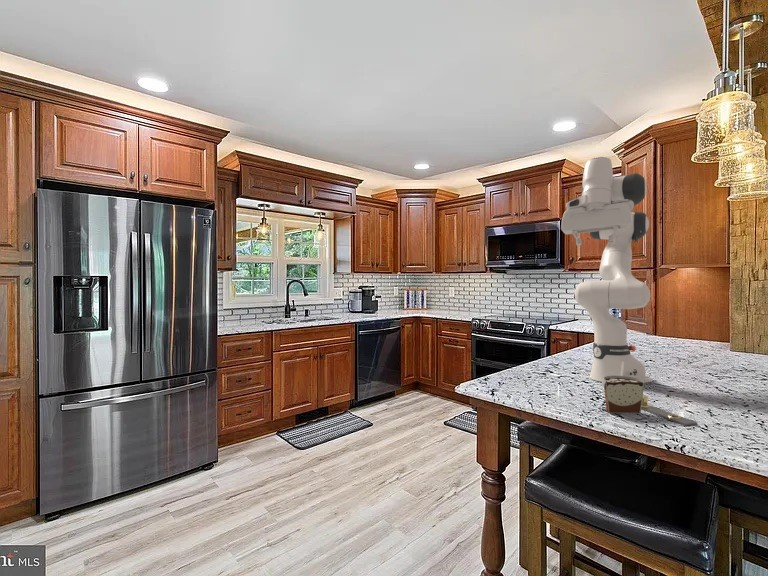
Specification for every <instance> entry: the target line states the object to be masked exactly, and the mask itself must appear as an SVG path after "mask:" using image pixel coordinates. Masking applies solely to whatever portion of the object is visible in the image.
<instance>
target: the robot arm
mask: <svg viewBox="0 0 768 576" xmlns="http://www.w3.org/2000/svg"><path fill="white" fill-rule="evenodd" d="M581 183H582V185H581V192H580V193H581V195H580V196H579V197H577V198H574V199H572V200H570V201H567V203H565V209H566V210H565V211H564V213H563V215H562V219H561V225H560V230H561V231H562V232H563V234H565V235H573V237H574V239H575V245H576V246H582V245H583V240H582V238H581V237H579V234H584V233H589V236H590V237H591V238H592V240H598V241H600V240H608V242H607V243H606V246H605V247H604V250H603V252H602V254H601V258H600V259H601V260H600V265H599V270H598V271H599V275H600V277H601V278H602V279H603V280H587V281H586V280H585V281H582V282H580V283H578V284H577V286H576V288H575V290H574V299H575V301H576V303H577V304H578V305H579V306H580V307H582V308H583V309H584V310H585V311H586V312H587V313H588V314H589V316H590V318H591V320H592V324H593V330H594V331H593V334H594V335H593V336H594V337H593V338H594V341H593V343H592V352H593V358H592V366H591V370H590V375H589V377H588V378H589V379H590V380H593V381H597V382H601V383H602V380H603V378H604V377H605V376H628V377H634V378H639V379H642V380H644V382H645V384H646V383H652V382H653V381H654V378H652V377H650V376H647V375H646V368H645V365H644V364H643V363H642V362H641V361H640V360H638V359H637V358H636V357H635V356H633V355H632V354H631V352H636V350H637V347H636V345H632V344H631V345H628V344H627V342H628V339H627V338H628V337H627V335H628V329H627V328H628V327H627V325H626V323H625V322H624V321H623V320H621V319H619V318H618V317H616V316H613V315H612V314H611V312H610V309H617V310H618V309H619V310H634V309H635V310H636V309H641V308H645V307H646V306H647V304H648V303H649V302H650V299H651V290H650V288H649V286H648V285H647V284H646V283H645V282H643V281H641V280H639V279H637V278H636V277H634V275H633V274H632V261H633V251H632V242H635V243H638V241H639V240H640V239H642V238H644V236H645V235H646V234H647V231H648V230H649V226H650V220H649V218H648V216H647V214H646V213H645V212H642V211H634V208H635V206H636V205H638V204H640V203H641V202H643V201H644V200H645V198H646V195H647V192H648V184H647V181H646V179H645V177H644V176H643V175H642V174H639V173H637V172H634V173H629V174H626V175H622V176H615V177H614V171H613V163H612V159H611V158H609V157H607V156H599V157H594V158H591V159H589V160H587V161H586V162H585V165H584V169H583V174H582V182H581ZM633 211H634V212H633ZM578 237H579V238H578Z"/></svg>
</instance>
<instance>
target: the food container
mask: <svg viewBox="0 0 768 576" xmlns="http://www.w3.org/2000/svg"><path fill="white" fill-rule="evenodd" d="M601 386H602V387H603V389H604V391H603V392H604V400H605V410H606V413H607V412H608V413H607V414H609V413H641V414H642V410H641V407H642V398H643V395H644V388H646V387H647V385H646V383H645V382H644V380H642V379H639V378H634V377H628V376H605V377H604V378H603V380H602V382H601Z"/></svg>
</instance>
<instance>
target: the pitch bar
mask: <svg viewBox="0 0 768 576" xmlns="http://www.w3.org/2000/svg"><path fill="white" fill-rule="evenodd" d="M648 397H649V396H647V395H644V394H643V398H642V407H641V409H642V410H641V411H645V412H646V411H647V412H646V413H649V412H650V413H649V414H652V415H654V414H655V416H657V417H660V418H662V417H663V418H662V419H666V420H667V421H670V420H671V422H673V423H675V424H678V423H679V425H680V426H684V427H686V426H696V425H695V424H697V425H698V422H697V421H695V420H692V419H689V418H686V417H684V416H681V415H678V414H675V413H673V412H671V411H667V410H664V409H661V408H658V407H655V406H653V405H650V404H648V400H649V399H648Z"/></svg>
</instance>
